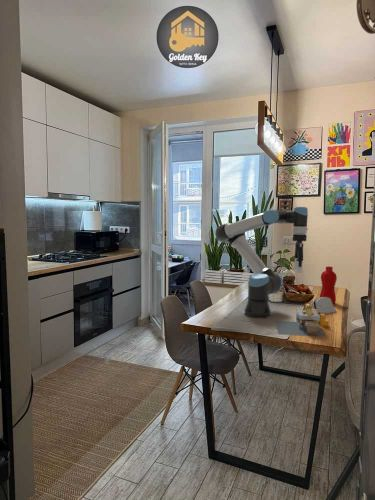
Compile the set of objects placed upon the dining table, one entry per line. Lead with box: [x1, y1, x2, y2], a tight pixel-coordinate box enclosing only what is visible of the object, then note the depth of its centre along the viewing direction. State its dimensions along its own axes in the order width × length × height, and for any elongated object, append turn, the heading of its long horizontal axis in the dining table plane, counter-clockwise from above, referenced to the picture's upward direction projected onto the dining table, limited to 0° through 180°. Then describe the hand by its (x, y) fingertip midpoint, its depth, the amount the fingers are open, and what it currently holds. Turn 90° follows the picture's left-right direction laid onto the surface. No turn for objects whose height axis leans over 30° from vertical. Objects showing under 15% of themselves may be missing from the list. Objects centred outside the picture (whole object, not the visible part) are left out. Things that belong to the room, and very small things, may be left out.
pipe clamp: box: [312, 308, 330, 327], centre depth 188 cm, size 12×4×6 cm, turn 4°
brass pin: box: [304, 303, 313, 315], centre depth 179 cm, size 4×4×12 cm
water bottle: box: [319, 266, 338, 305], centre depth 236 cm, size 9×11×25 cm
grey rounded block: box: [311, 297, 337, 315], centre depth 212 cm, size 17×5×10 cm, turn 126°
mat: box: [274, 320, 327, 338], centre depth 177 cm, size 22×23×1 cm
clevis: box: [295, 309, 321, 336], centre depth 176 cm, size 10×20×7 cm, turn 170°
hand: (297, 270), depth 199 cm, fingers open, 13 cm apart
